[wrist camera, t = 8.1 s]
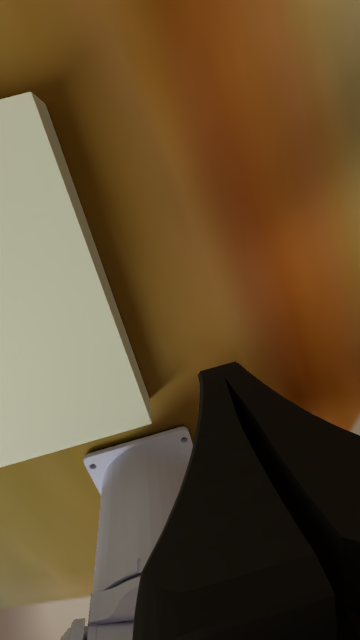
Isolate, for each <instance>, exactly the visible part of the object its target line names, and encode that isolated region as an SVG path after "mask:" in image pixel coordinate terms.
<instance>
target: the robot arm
mask: <svg viewBox="0 0 360 640" xmlns="http://www.w3.org/2000/svg"><path fill="white" fill-rule="evenodd" d="M198 377H199V382H200V404H199V415H198V422H197V428H196V434H195V439H194V444H192V440H191V437H190V434H189V430H188V429H187V428H186V427H178V428H175V429H171V430H168V431H164V432H161V433H158V434H154V435H151V436H147V437H144V438H140V439H137V440H133V441H130V442H126V443H123V444H120V445H116V446H113V447H109V448H106V449H102V450H99V451H95V452H92V453H89V454H86V455H85V457H84V464H85V466H86V468H87V470H88V472H89V474H90V476H91V478H92V480H93V482H94V483H95V485H96V487H97V489H98V491H99V493H100V495H101V503H100V514H99V525H98V536H97V547H96V559H95V570H94V581H93V592H92V594H91V600H90V611H89V621H88V626H84V625H85V618H83V619H76V620H74V621H73V622H72V625H71V628H69V629H68V630H67V631H66V632H65V634H64V635H63V636H62V637H61V640H360V436H359V435H357V434H354V433H352V432H349V431H347V430H344V429H342V428H340V427H338V426H335V425H333V424H331V423H329V422H327V421H325V420H323V419H321V418H319V417H317V416H315V415H313V414H311V413H309V412H308V411H306V410H304V409H302V408H301V407H299V406H297V405H296V404H294V403H292V402H291V401H289V400H287V399H286V398H284V397H283V396H281V395H280V394H278V393H277V392H275V391H274V390H272V389H271V388H269V387H268V386H267V385H265V384H264V383H262V382H261V381H260V380H258V379H257V378H256V377H254V376H253V375H252V374H251V373H249V372H248V371H247V370H246V369H245V368H243V367H242V366H241V365H240V364H239V363H237V362H232V363H228V364H225V365H221V366H218V367H214V368H211V369H207V370H204V371H200V373H199V374H198ZM183 437H186V438H185V439H182V438H183ZM91 464H95V465H91Z"/></svg>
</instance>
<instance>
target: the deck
mask: <svg viewBox="0 0 360 640" xmlns="http://www.w3.org/2000/svg"><path fill="white" fill-rule="evenodd" d="M149 424H152V420H151V409H150V399H149V396H148V393H147V390H146V387H145V385H144V382H143V379H142V376H141V373H140V370H139V368H138V365H137V362H136V359H135V356H134V353H133V351H132V348H131V345H130V342H129V339H128V336H127V333H126V331H125V328H124V325H123V322H122V319H121V316H120V314H119V311H118V308H117V305H116V302H115V299H114V297H113V294H112V291H111V288H110V285H109V282H108V280H107V277H106V274H105V271H104V268H103V265H102V263H101V260H100V257H99V254H98V251H97V248H96V246H95V243H94V240H93V237H92V234H91V231H90V229H89V226H88V223H87V220H86V217H85V214H84V212H83V209H82V206H81V203H80V200H79V197H78V195H77V192H76V189H75V186H74V183H73V180H72V177H71V175H70V172H69V169H68V166H67V163H66V160H65V158H64V155H63V152H62V149H61V146H60V143H59V141H58V138H57V135H56V132H55V129H54V126H53V124H52V121H51V118H50V115H49V112H48V109H47V107H46V104H45V103H44V102H43V101H41V100H40V99H39V98H38V97H37V96H36V95H34V94H33V93H32V92H27V93H23V94H19V95H15V96H11V97H7V98H3V99H0V467H4V466H7V465H10V464H14V463H17V462H21V461H24V460H28V459H31V458H35V457H38V456H42V455H45V454H49V453H52V452H56V451H59V450H62V449H66V448H69V447H73V446H76V445H80V444H83V443H87V442H90V441H94V440H97V439H101V438H104V437H107V436H111V435H114V434H118V433H121V432H125V431H128V430H132V429H135V428H139V427H142V426H146V425H149Z"/></svg>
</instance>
